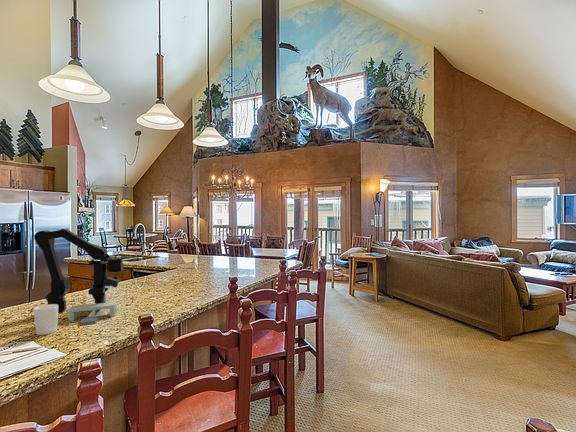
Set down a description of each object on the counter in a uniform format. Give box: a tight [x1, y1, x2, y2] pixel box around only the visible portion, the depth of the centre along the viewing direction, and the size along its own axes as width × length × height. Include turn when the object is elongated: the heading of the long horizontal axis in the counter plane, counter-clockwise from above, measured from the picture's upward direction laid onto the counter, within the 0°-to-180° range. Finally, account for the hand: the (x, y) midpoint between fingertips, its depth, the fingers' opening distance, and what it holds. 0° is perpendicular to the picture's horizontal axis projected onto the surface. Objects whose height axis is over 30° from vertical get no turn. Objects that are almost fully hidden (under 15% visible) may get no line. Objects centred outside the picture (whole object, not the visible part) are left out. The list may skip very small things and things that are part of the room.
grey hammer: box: [86, 293, 107, 318], centre depth 155 cm, size 4×21×6 cm, turn 18°
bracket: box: [67, 301, 118, 322], centre depth 149 cm, size 18×6×5 cm, turn 109°
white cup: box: [33, 303, 59, 336], centre depth 130 cm, size 8×8×10 cm
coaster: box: [78, 316, 100, 326], centre depth 141 cm, size 6×6×2 cm
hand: (100, 304), depth 163 cm, fingers closed on grey hammer, 4 cm apart
